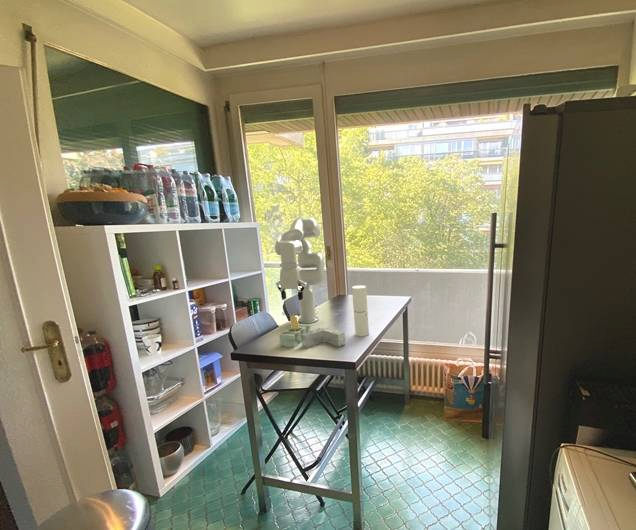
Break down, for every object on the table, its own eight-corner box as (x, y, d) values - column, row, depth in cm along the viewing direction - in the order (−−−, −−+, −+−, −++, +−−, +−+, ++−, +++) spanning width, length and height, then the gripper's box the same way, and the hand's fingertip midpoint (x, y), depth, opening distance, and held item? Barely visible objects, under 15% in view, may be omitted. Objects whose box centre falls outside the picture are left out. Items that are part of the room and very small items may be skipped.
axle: (294, 338, 174) (292, 314, 172) (301, 339, 172) (299, 315, 171) (291, 341, 170) (288, 317, 169) (297, 342, 169) (295, 317, 167)
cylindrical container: (353, 333, 175) (349, 286, 172) (364, 330, 178) (361, 284, 175) (359, 337, 169) (355, 289, 166) (371, 334, 171) (368, 286, 168)
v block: (304, 340, 171) (303, 328, 170) (345, 338, 169) (344, 326, 168) (301, 348, 160) (299, 336, 159) (345, 346, 158) (344, 334, 157)
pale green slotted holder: (298, 334, 181) (297, 323, 180) (311, 335, 178) (310, 324, 177) (280, 346, 165) (279, 334, 164) (294, 347, 162) (293, 335, 161)
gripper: (270, 267, 167) (273, 300, 169) (300, 266, 159) (303, 301, 161) (278, 265, 174) (281, 297, 175) (307, 264, 166) (310, 298, 168)
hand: (292, 299), depth 168 cm, fingers open, 9 cm apart
